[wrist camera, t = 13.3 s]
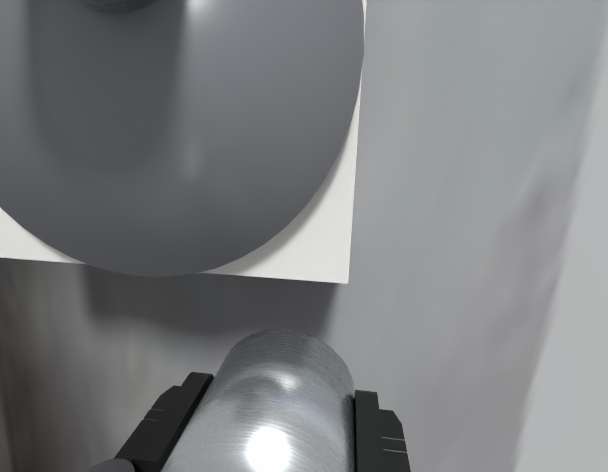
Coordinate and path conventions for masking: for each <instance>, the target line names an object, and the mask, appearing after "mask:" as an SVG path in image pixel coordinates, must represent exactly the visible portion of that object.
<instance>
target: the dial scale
mask: <svg viewBox="0 0 608 472" xmlns="http://www.w3.org/2000/svg"><path fill="white" fill-rule="evenodd" d="M366 1H367V0H157V1H155V2H154V3H152V4H150V5H149V6H146V7H144V8H142V9H140V10H136V11H132V12H128V13H107V12H102V11H98V10H95V9H92V8H90V7H87V6H85V5H83V4H81V3H80V2H78V1H76V0H0V257H1V258H14V259H28V260H41V261H54V262H67V263H81V264H88V265H91V266H93V267H97V268H100V269H104V270H108V271H111V272H115V273H119V274H126V275H133V276H140V277H175V276H183V275H191V274H196V273H213V274H227V275H240V276H253V277H266V278H280V279H293V280H306V281H319V282H333V283H346V284H348V275H349V260H350V245H351V229H352V214H353V199H354V184H355V169H356V153H357V138H358V123H359V108H360V93H361V77H362V63H363V55H364V32H365V17H366Z"/></svg>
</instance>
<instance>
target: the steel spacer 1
mask: <svg viewBox="0 0 608 472" xmlns="http://www.w3.org/2000/svg"><path fill="white" fill-rule="evenodd" d="M76 1H78V2H80V3H81V4H83V5H85V6H87V7H90V8H92V9H95V10H98V11H102V12H107V13H128V12H132V11H136V10H140V9H142V8H144V7H146V6H149V5H150V4H152V3H154V2H155V1H157V0H76Z"/></svg>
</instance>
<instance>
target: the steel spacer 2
mask: <svg viewBox="0 0 608 472" xmlns="http://www.w3.org/2000/svg"><path fill="white" fill-rule="evenodd" d="M354 396H355V391H354V384H353V380H352V377H351V374H350V372H349V370H348V367H347V366H346V364H345V363H344V361H343V360H342V358H341V357H340V356H339V355H338V354H337V353H336V352H335V351H334V350H333V349H332V348H331V347H330V346H328V345H327V344H325V343H324V342H323V341H321V340H319V339H317V338H315V337H313V336H311V335H308V334H306V333H302V332H299V331H295V330H288V329H272V330H265V331H260V332H257V333H254V334H252V335H250V336H248V337H246V338H244V339H242V340H241V341H240V342H238V343H237V344H236V345H235V346H234V347H233V348H232V349H231V350H230V352H229V353H228V354H227V356H226V358H225V359H224V361H223V363H222V365H221V366H220V368H219V370H218V372H217V373H216V375H215V377H214V379H213V380H212V382H211V384H210V386H209V387H208V389H207V391H206V393H205V394H204V396H203V398H202V400H201V401H200V403H199V405H198V407H197V408H196V410H195V412H194V414H193V415H192V417H191V419H190V421H189V422H188V424H187V426H186V428H185V429H184V431H183V433H182V435H181V437H180V438H179V440H178V442H177V444H176V445H175V447H174V449H173V451H172V452H171V454H170V456H169V458H168V459H167V461H166V463H165V465H164V466H163V468H162V470H161V472H356V457H355V411H354Z"/></svg>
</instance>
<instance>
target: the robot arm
mask: <svg viewBox="0 0 608 472" xmlns="http://www.w3.org/2000/svg"><path fill="white" fill-rule="evenodd" d="M213 379H214V376H213V374H206V373H197V372H191V373H190V374H189V375H188V377H187V378H186V380H185V381H184V382H183V384H182V385H181V386H173V387H171V388H170V389H169V390H167V391H166V392H164V393H163V394H162V395H160V397H159V398H158V400H157V401H156V402H155V404H154V405H153V406H152V409H151V410H149V412H148V413H147V414H146V416H145V417H144V420H142V421H141V422H140V424H139V425H138V426H137V428H136V429H135V431H134V432H133V433H132V435H131V436H130V437H129V439H128V440H127V441H126V443H125V444H124V445H123V447H122V448H121V449H120V451H119V452H118V453H117V455H116V456H115V458H114V459H111V460H107V461H104V462H102V463H100V464H98V465H96V466H95V467H93V468H92V469H90V470H89V471H88V472H161V470H162V468H163V466H164V465H165V463H166V461H167V459H168V458H169V456H170V454H171V452H172V451H173V449H174V447H175V445H176V444H177V442H178V440H179V438H180V437H181V435H182V433H183V431H184V429H185V428H186V426H187V424H188V422H189V421H190V419H191V417H192V415H193V414H194V412H195V410H196V408H197V407H198V405H199V403H200V401H201V400H202V398H203V396H204V394H205V393H206V391H207V389H208V387H209V386H210V384H211V382H212V380H213ZM354 411H355V457H356V472H411V471H410V466H409V460H408V455H407V450H406V444H405V441H404V434H403V428H402V424H401V422H400V421H399V419H398V418H397V416H396V415H395V413H394V412H393V411H390V410H381V409H379V405H378V396H377V392H370V391H361V390H355V396H354Z"/></svg>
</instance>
